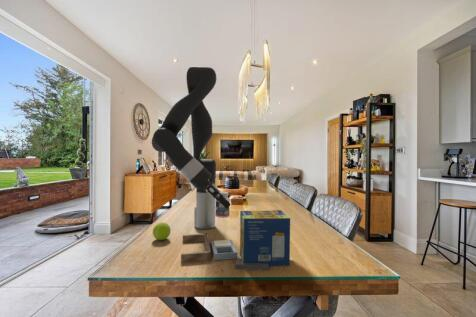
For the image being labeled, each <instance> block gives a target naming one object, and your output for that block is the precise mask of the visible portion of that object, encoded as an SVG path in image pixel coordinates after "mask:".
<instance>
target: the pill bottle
mask: <svg viewBox="0 0 476 317" xmlns="http://www.w3.org/2000/svg"><path fill="white" fill-rule="evenodd" d="M220 194H221V195H223V197H224V198H225V199H226V200H227V201H228V202H229V203H230V204H231V202H230V198H229V197H228V196H229V192H228V191H220ZM217 196H218V197H219V196H220V195H219V194H218V195H217ZM228 217H230V206H229V207H228V208H225V207H224V206H223V205H222V204H221V203H220V202H218V201H217V200H216V199H215V218H220V219H221V218H223V219H224V218H228Z"/></svg>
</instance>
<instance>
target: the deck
mask: <svg viewBox="0 0 476 317" xmlns="http://www.w3.org/2000/svg"><path fill="white" fill-rule="evenodd" d="M210 250H211V254H212V257H213V260H214V261H218V260H219V261H220V260H230V259H231V260H233V259H234V260H235V259H237V258H239V257H238V255H239V254H238V253H239V252H238V250H237V249H236V246H235V244H234V242H233V240H232V239H227V240H226V239H224V240H211V241H210Z"/></svg>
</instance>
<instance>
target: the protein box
mask: <svg viewBox="0 0 476 317" xmlns="http://www.w3.org/2000/svg"><path fill="white" fill-rule="evenodd" d="M239 213H240V214H239V217H240V218H239V219H240V221H239V223H240V224H239V227H240V228H239V229H240V230H239V254H240V258H242V263H266V264H268V265H269V267H290V263H291V262H290V260H291V258H290V257H291V256H290V255H291V254H290V253H291V218H290V217H289V216H288V215H287V214H286V213H285V212H284V211H282V210H278V209H277V210H275V209H274V210H240V212H239Z"/></svg>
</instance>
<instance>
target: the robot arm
mask: <svg viewBox="0 0 476 317" xmlns="http://www.w3.org/2000/svg"><path fill="white" fill-rule="evenodd" d="M216 83H217V74H216V71H215V69H213V68H212V67H208V66H202V65H201V66H200V65H199V66H198V65H191V66H190V67H188V69H187V71H186V88H187V93H188V94H187V95H185V96H184V97H182V98H181V99H179V100H178V101H176V102H175V103H174V105H173V106H172V107H171V108H170V110H169V112H168V113H167V115H166V116H165V117H164V121H163V123H162V125H161V126H160V127H159V128H157V129H156V130H155V131H154V133H153V135H152V139H151V145H152V148H153V149H154V150H155V151H157V152H160V153H163V152H164V153H165V154H166V155H167V156H168V158H169V161H170V163H171V164H172V165H173V166H174V167H175V168H176V169H177V170H178V171H179V172H180V173H181V175H182V176H183V177H184V178H185V179H186V180H187V181H188V182H189V183H190V184H191V185H192V186H193V187H194V188H195V193H196V195H195V199H196V201H195V202H196V203H195V207H194V209H193V210H194V211H193V212H194V213H193V214H194V217H193V218H194V219H193V220H194V221H193V222H194V223H193V225H194V226H193V227H194V228H197V229H201V230H209V229H213V228H215V227H216V216H215V212H216V200H217V201H218V202H220V203H221V204H222V205H223V206H224V207H225V208H228V207H229V208H230V206H231V205H232V204H231V202H230V203H229V202H228V201H227V200H226V199H225V198H224V197H223V195H221V194H220V192H221V190H220V189H219V188H218V187H217V186H216V174H217V173H216V172H217V162H216V160H215V159H213V158H201V154H202V153H203V151H204V149H205V148H206V146H207V144H208V143H209V142H210V140H211V137H212V136H213V119H212V117H211V114H210V112H209V111H208V109H207V108H206V106H205V104H204V100H205V98H206V97H207V96H208V95H209V94H210V93H211V91H212V90H213V89H214V88H215V85H216ZM189 118H190V123H191V135H192V136H191V137H192V147H193V150H192V152H193V155H192V154H191V153H190V152H189V151H188V150H187V149H186V148H185V147H184V145H183V143H182V142H181V140H179V138H178V134H179V133H180V132H181V131H182V129H183V128H184V126H185V125H186V123H187V121H188V120H189ZM218 194H219V195H220V196H219V197H218V196H217V195H218Z"/></svg>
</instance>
